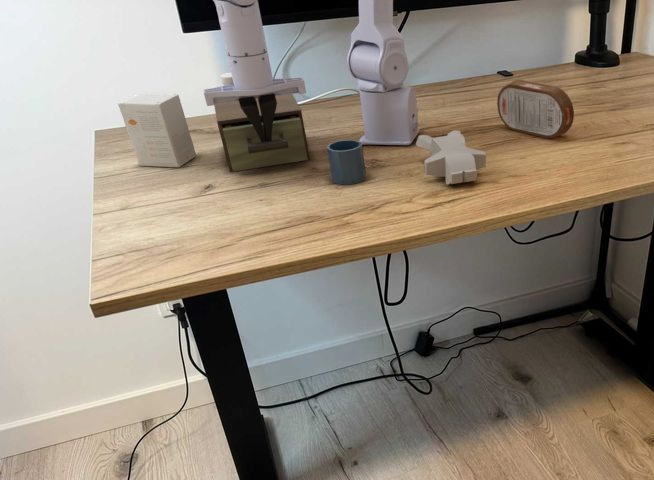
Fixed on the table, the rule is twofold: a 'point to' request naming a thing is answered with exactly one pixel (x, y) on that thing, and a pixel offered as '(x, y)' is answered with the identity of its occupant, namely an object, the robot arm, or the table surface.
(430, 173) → the grey branched angular piece
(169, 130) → the small box
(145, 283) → the table surface
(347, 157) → the cup
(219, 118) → the cabinet
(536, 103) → the tin
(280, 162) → the drawer
